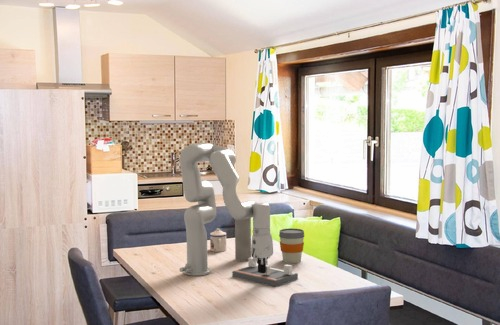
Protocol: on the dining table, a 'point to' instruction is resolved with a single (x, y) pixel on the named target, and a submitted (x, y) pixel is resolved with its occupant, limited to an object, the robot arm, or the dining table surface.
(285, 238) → the reusable coffee cup
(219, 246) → the teacup with lid
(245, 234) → the thermos bottle
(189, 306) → the dining table surface
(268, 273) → the block
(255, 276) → the grey slider switch panel
